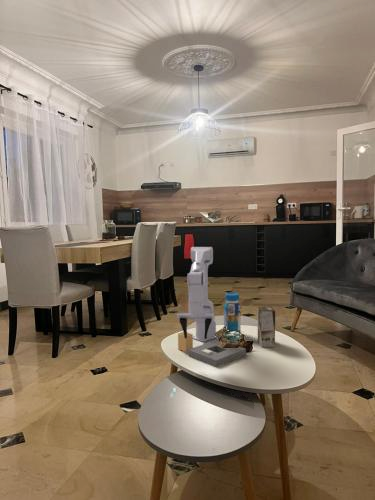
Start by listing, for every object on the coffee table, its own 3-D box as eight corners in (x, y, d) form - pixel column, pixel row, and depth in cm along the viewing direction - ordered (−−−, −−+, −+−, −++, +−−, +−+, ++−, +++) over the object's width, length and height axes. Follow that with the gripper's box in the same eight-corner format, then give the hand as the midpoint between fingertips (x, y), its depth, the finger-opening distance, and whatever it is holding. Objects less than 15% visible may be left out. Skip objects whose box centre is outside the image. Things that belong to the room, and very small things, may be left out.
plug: (185, 347, 159) (184, 331, 159) (192, 349, 155) (192, 333, 155) (178, 349, 156) (178, 333, 156) (185, 352, 153) (185, 335, 152)
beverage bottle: (220, 333, 178) (219, 293, 176) (232, 330, 183) (232, 291, 181) (232, 337, 171) (231, 296, 169) (244, 334, 176) (244, 293, 174)
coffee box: (275, 347, 157) (275, 311, 156) (260, 347, 157) (260, 311, 156) (271, 340, 166) (271, 306, 165) (257, 340, 167) (257, 306, 165)
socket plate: (217, 345, 161) (217, 337, 161) (245, 354, 149) (245, 346, 149) (188, 355, 149) (187, 347, 149) (216, 366, 137) (216, 358, 137)
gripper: (175, 303, 136) (175, 339, 135) (214, 303, 135) (214, 340, 134) (178, 301, 143) (178, 336, 142) (214, 302, 142) (214, 337, 141)
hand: (195, 338), depth 138 cm, fingers open, 7 cm apart
